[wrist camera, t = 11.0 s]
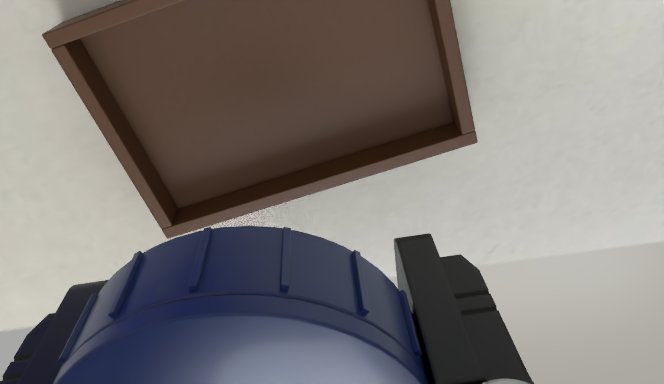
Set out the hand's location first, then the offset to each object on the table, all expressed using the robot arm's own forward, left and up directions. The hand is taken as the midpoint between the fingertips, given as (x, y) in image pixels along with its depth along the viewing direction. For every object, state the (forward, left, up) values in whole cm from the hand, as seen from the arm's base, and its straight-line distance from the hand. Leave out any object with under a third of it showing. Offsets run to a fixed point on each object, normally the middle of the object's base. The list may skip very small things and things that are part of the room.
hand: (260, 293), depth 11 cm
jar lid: (0, 0, +3) cm, 3 cm away
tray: (0, 0, -14) cm, 14 cm away
